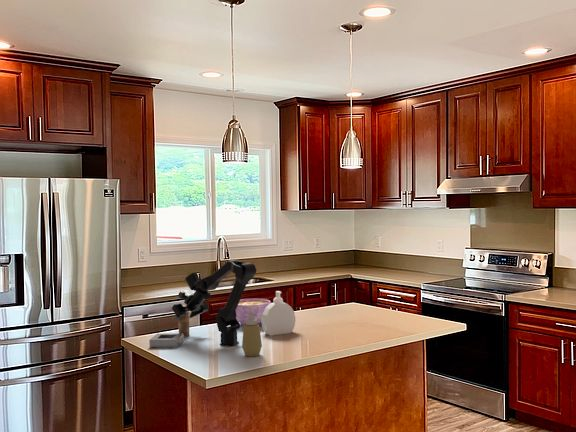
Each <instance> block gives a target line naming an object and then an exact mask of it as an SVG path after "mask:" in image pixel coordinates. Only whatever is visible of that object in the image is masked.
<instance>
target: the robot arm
mask: <svg viewBox="0 0 576 432" xmlns="http://www.w3.org/2000/svg"><path fill="white" fill-rule="evenodd" d="M231 273H234V277H235V282H234V284H233V286H232V289H231V291H230V294H229V296H228V299H227V301H226V304H225V306H224V307H219V309H217V313H216V315H215V317H216V318H215V322H216V326H217V329H218V332H220V342H219V346H227V347H228V346H229V347H233V346H235V345H238V344H240V342H239V341H238V330H240V328H241V323H239V322H238V321H237V319H236V316H237V314H236V308H237V306H238V303H239V301H240V300H241V299H242V296H243V294H244V291H245V290H246V289H245V288H246V287H247V284H248V283H249V282H251V280H252V279H253V278H254V277H255V275H256V273H257V268H256V265H255V264H254V263H253V262H246V261H240V260H237V259H230V260H227V261H226V262H225V263H224V264H223V265H221V267H219V268H218V269H217V270H216V271H215V272H213V273H212V274H211V275H208V276H205V277H203V278H200V276H199V275H198V272H196V271H195V272H192V273H191V274H189V275H187V276H186V277H185V278H184V281H185V282H186V284H187V286H188V288H189V289H184V290H180V291H179V292H178V295H177V296H178V298H180V300H183V302H184V305H186V307H183V306H182V305H183V304H182V303H175V304H173V305H172V306H171V309H172V311H173V313H174V315H175V316H174V318H173V320H174V322H177V321H178V320H180V319H181V318H183V317H184V316H185V315H186V312H189V319H193V318H194V317H197V316H199V315H201V314H203V313H206V312H208V311H209V310H210V305H208V302H207V301H206V300H210V299H212V295H211V293H210V292H209V291H214V290H216V289H217V288H218V287H219V285H220V282H221V281H222V280H224V279H225V278H226V277H228V275H230V274H231ZM192 291H193V292H192ZM190 312H191V313H190Z"/></svg>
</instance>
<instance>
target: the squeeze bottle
mask: <svg viewBox="0 0 576 432" xmlns="http://www.w3.org/2000/svg"><path fill="white" fill-rule="evenodd" d="M242 329H243V330H242V341H241V342H242V344H241V347H242V351H243V354H244V356H246V357H250V358H251V357H253V358H254V357H258V356H260V353H261V350H262V346H263V344H262V337H261V328H260V324H259V325H257V320H256V319H254V315H253V311H250V313H249V318H248V320H246V325H243V328H242Z"/></svg>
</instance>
